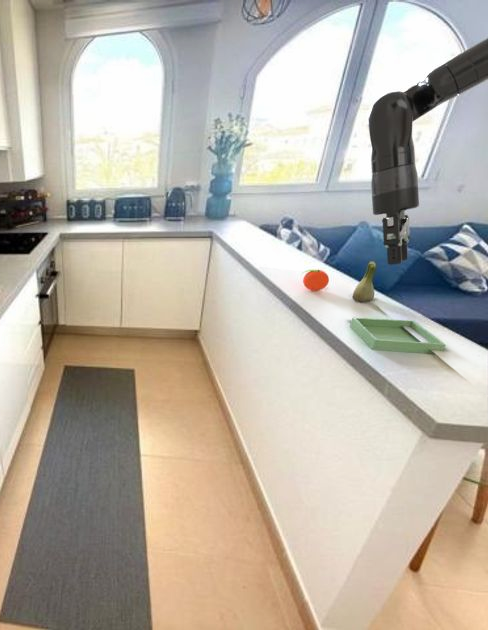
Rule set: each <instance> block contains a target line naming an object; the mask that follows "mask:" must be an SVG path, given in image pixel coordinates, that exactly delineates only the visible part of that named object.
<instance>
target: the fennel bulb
mask: <svg viewBox="0 0 488 630" xmlns="http://www.w3.org/2000/svg"><path fill="white" fill-rule="evenodd" d="M377 265H378V264H377V263H376V262H375V261H369V263H368V264H367V266H366V267H367V268H366V271H365V274H364V276H363V278H362V279H361V280H360V282H358V284H357V285H356V287H355V288H354V290H353V292H352V297H351V298H352V300H353V301H355V302H359V303H369V302H372V300H373V299H374V297H375V289H374V285H373V279H374V275H375V272H376V269H377Z"/></svg>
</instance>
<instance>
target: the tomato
mask: <svg viewBox="0 0 488 630" xmlns="http://www.w3.org/2000/svg"><path fill="white" fill-rule="evenodd" d="M306 272H307V273H306ZM304 273H305V275H304V276H303V279H302V283H303V285H304V287H305V289H307V290H309V291H313V292H318V291H321V290H324V289H325V288H326V287H327V286H328V284H329V281H330V278H329V275H328V274H327V273H326V271H324V270H322V269H308V270H304V271H303V272H302V274H304Z"/></svg>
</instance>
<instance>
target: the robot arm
mask: <svg viewBox="0 0 488 630" xmlns="http://www.w3.org/2000/svg"><path fill="white" fill-rule="evenodd" d="M486 81H488V37H486V38H485V39H483V40H481V41H479V42H477V43H476V44H474V45H472V46H471V47H469V48H467V49H466V50H464V51H462V52H460V53H458V54H457V55H455V56H454V57H452V58H450V59H448V60H447V61H445V62H443V63H442V64H440V65H438V66H437V67H435V68H434V69H432V70H431V71H430V72H428V73H427V74H426V75H425V76H424V77H423V78H422V79H421V80H420V81H419V82H417V83H415V84H414V85H412V86H411V87H409V88H407V89H406V90H404V91H401V90H400V91H398V90H395V91H390V92H387V93H385V94H383V95H381V96H380V97H378V98H377V99H376V100H375V101H374V102H373V104H372V105H371V106H370V108H369V110H368V112H367V126H368V133H369V140H370V147H371V154H370V166H371V181H370V182H371V183H370V189H371V190H370V191H371V202H372V203H371V204H372V214H373V215H374V216H379V215H385V217H382V220H381V223H382V234H383V235H382V236H383V242H382V245H383V246H384V247H385V249H386V255H387V257H386V258H387V264H388V265H391V266H392V265H400V264H401V263H403V261H407V260H408V259H409V253H408V244H409V242H410V239H411V238H410V237H411V236H410V233H411V231H410V217H409V216H408V214H406V211H408V210H412V209H417V208H418V207H420V196H419V178H418V177H419V176H418V175H419V174H418V171H417V166H416V149H415V144H414V139H413V123H414V122H415V121H416V120H418V119H420V118H422V116H424V115H426V114H428V113H429V112H430V111H433V110H434V109H435V108H437V107H438V106H440V105H442V104H444V103H446V102H448V101H450V100H452V99H454V98H456V97H458V96H460V95H462V94H464V93H466V92H468V91H469V90H471V89H473V88H475V87H477V86H478V85H481V84H482V83H484V82H486Z"/></svg>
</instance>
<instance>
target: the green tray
mask: <svg viewBox="0 0 488 630" xmlns="http://www.w3.org/2000/svg"><path fill="white" fill-rule="evenodd" d="M349 327H350V328H351V329H352V330H353V331H354V332H355V334H357V336H358V337H359V338H361V340H362V341H363V342H364V343H365V344H366V345H367V346H368V348H370V349H371V350H373V351H387V352H399V353H400V352H402V353H415V354H427V353H428V354H427V355H436V353H435V351H433V350H439V351H444V350H445V347H446V346H447V344H446V343H444V342H443V341H442V340H440V339H439V338H438V337H436V336H435V335H434V334H433V333H431V332H430V331H429V330H428V329H425V328H424V327H423V326H421V325H420V324H419V323H418V322H417V321H415V320H412V319H411V320H410V319H409V320H407V319H390V318H373V317H371V318H370V317H355V316H353V317H352V319H351V320H350V323H349ZM405 327H411V328H412V329H413V330H414V331H416V333H419V334H420V335H421V337H423V338H425V339H426V340H427V341H428V342H427V341H425V342H423V341H421V340H420V339H418V338H417V337H416V336H414V335H413V334H412V333H411V332H410V331H408V329H406V328H405Z"/></svg>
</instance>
